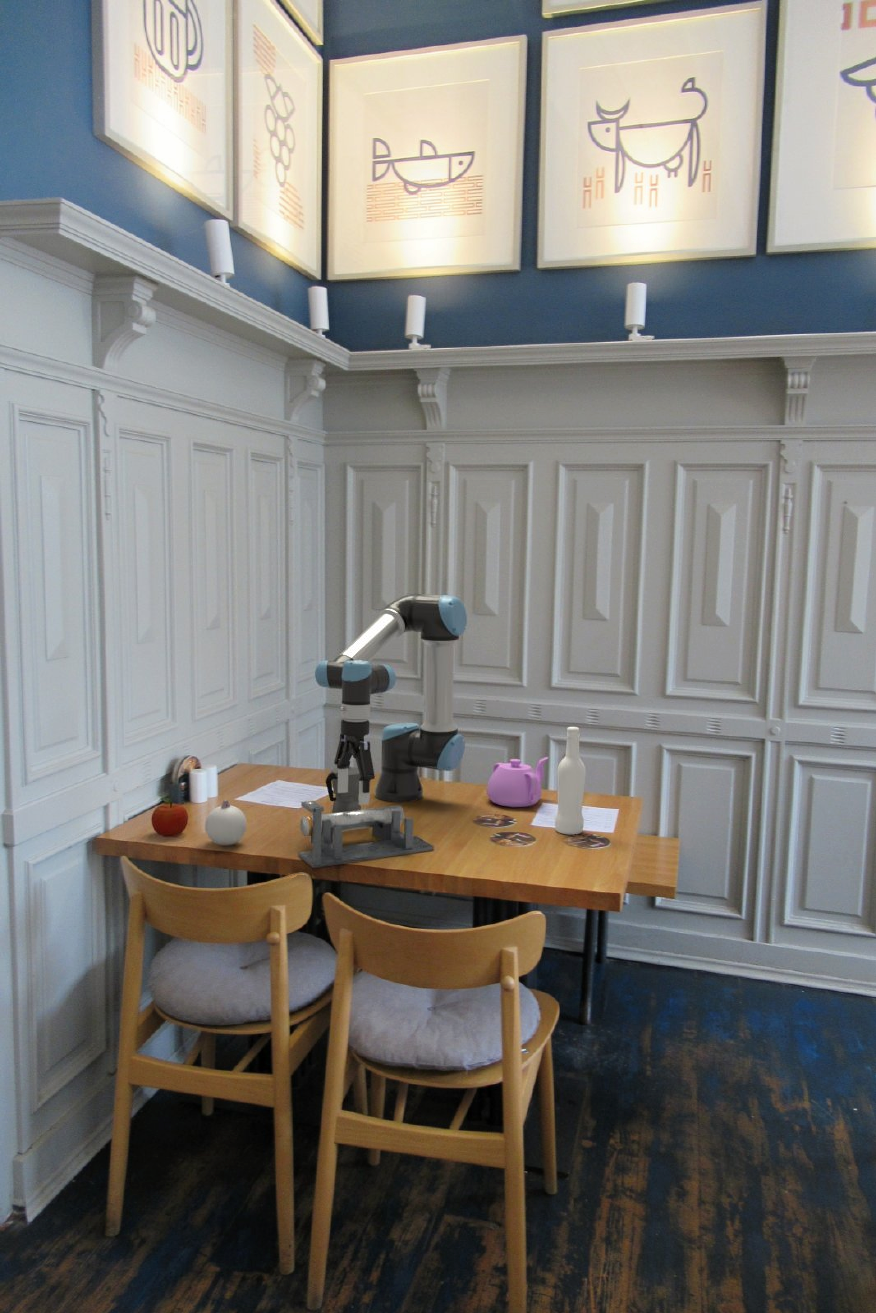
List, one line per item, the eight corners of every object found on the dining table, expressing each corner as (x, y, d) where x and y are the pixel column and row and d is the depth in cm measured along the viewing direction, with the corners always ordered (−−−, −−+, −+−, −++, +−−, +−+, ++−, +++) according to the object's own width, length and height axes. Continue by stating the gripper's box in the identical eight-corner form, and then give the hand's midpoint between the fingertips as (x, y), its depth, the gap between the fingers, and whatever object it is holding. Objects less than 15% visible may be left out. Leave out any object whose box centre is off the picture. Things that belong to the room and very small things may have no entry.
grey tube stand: (415, 839, 258) (417, 785, 257) (434, 850, 249) (436, 794, 248) (295, 856, 241) (296, 798, 239) (311, 869, 232) (312, 808, 231)
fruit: (174, 841, 250) (174, 804, 249) (144, 837, 253) (144, 800, 252) (195, 832, 259) (195, 796, 258) (166, 827, 262) (166, 792, 261)
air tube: (395, 820, 263) (395, 802, 263) (404, 825, 259) (404, 807, 258) (300, 833, 249) (300, 813, 249) (307, 838, 245) (308, 819, 244)
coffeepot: (348, 814, 281) (350, 754, 278) (373, 820, 275) (375, 759, 273) (313, 825, 268) (314, 763, 266) (338, 832, 263) (339, 768, 261)
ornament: (226, 852, 242) (226, 806, 241) (197, 845, 248) (197, 800, 246) (254, 842, 251) (254, 798, 250) (225, 835, 256) (225, 792, 255)
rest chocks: (381, 833, 263) (382, 815, 262) (394, 840, 256) (394, 822, 256) (310, 842, 253) (311, 824, 252) (321, 851, 246) (322, 832, 245)
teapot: (568, 805, 298) (570, 762, 296) (514, 814, 285) (516, 769, 284) (523, 789, 316) (525, 749, 314) (471, 797, 303) (472, 755, 302)
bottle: (585, 829, 273) (590, 726, 269) (580, 836, 265) (585, 731, 262) (557, 825, 275) (562, 723, 272) (551, 833, 268) (556, 728, 264)
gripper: (323, 712, 260) (321, 788, 262) (362, 728, 238) (360, 811, 240) (348, 711, 263) (346, 786, 265) (389, 726, 242) (386, 808, 244)
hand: (353, 798), depth 253 cm, fingers open, 13 cm apart
